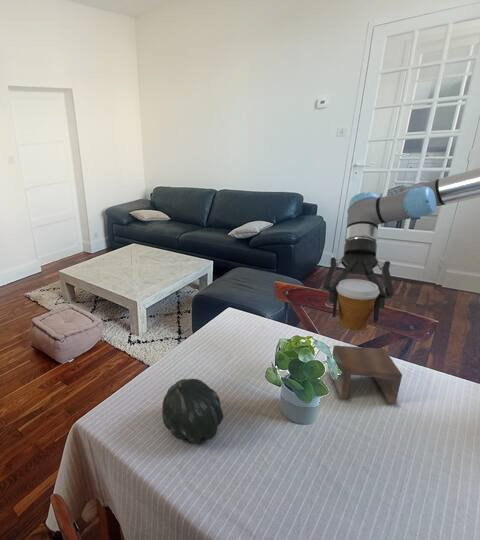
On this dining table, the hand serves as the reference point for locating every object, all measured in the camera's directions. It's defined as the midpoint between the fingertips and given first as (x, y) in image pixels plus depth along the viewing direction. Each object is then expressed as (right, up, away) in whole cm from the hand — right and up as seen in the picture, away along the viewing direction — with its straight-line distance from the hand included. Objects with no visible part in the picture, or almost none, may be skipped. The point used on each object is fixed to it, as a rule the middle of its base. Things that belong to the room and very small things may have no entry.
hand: (354, 318), depth 90 cm
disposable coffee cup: (+2, -2, +4) cm, 5 cm away
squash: (-44, -27, -5) cm, 52 cm away
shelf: (+3, -19, +2) cm, 19 cm away
